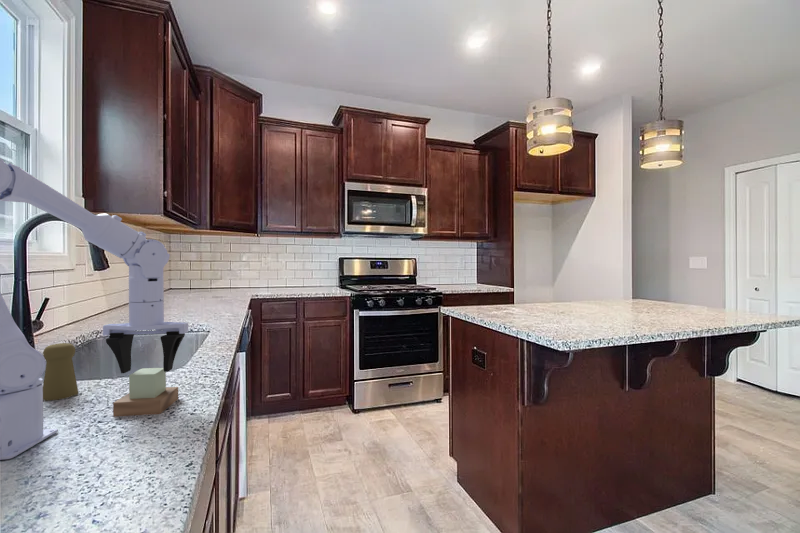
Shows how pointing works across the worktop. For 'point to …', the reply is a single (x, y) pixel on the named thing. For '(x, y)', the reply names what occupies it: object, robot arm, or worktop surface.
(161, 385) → the sage cube
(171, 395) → the walnut block
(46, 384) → the cork
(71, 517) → the worktop surface
